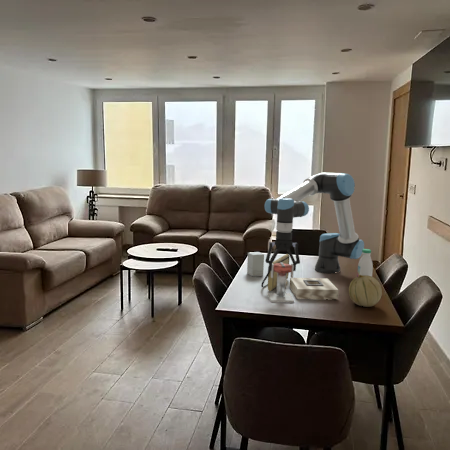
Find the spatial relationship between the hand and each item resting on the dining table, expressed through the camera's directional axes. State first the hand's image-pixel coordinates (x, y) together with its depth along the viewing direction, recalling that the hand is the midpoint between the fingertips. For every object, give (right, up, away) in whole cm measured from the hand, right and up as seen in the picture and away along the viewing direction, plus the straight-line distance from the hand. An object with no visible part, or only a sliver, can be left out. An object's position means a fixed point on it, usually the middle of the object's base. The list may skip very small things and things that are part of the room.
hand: (281, 277), depth 207 cm
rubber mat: (0, -11, +2) cm, 11 cm away
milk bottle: (+49, -8, +29) cm, 57 cm away
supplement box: (-10, -4, +44) cm, 45 cm away
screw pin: (0, -9, +1) cm, 9 cm away
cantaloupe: (+38, -13, -5) cm, 40 cm away
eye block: (+17, -9, +12) cm, 23 cm away
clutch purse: (-1, -7, +25) cm, 26 cm away
